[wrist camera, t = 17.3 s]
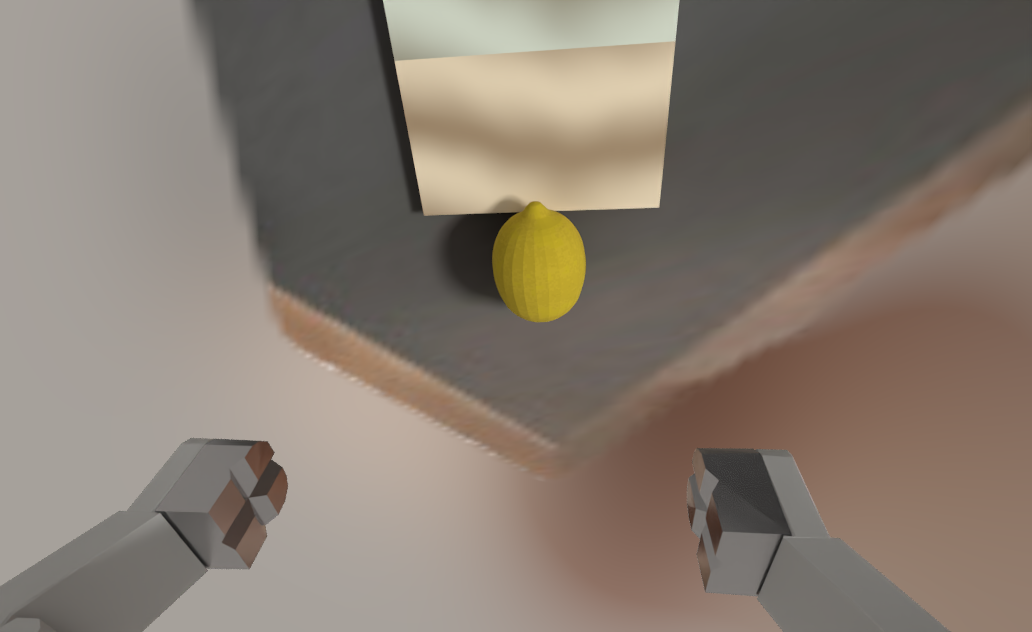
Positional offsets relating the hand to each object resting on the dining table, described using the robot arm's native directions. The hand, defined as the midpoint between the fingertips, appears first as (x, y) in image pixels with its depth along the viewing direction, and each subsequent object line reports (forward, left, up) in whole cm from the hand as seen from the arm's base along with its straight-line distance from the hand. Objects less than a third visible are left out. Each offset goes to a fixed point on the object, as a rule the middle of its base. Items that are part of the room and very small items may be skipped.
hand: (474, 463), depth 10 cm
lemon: (+3, 0, -20) cm, 20 cm away
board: (-4, 0, -23) cm, 23 cm away
